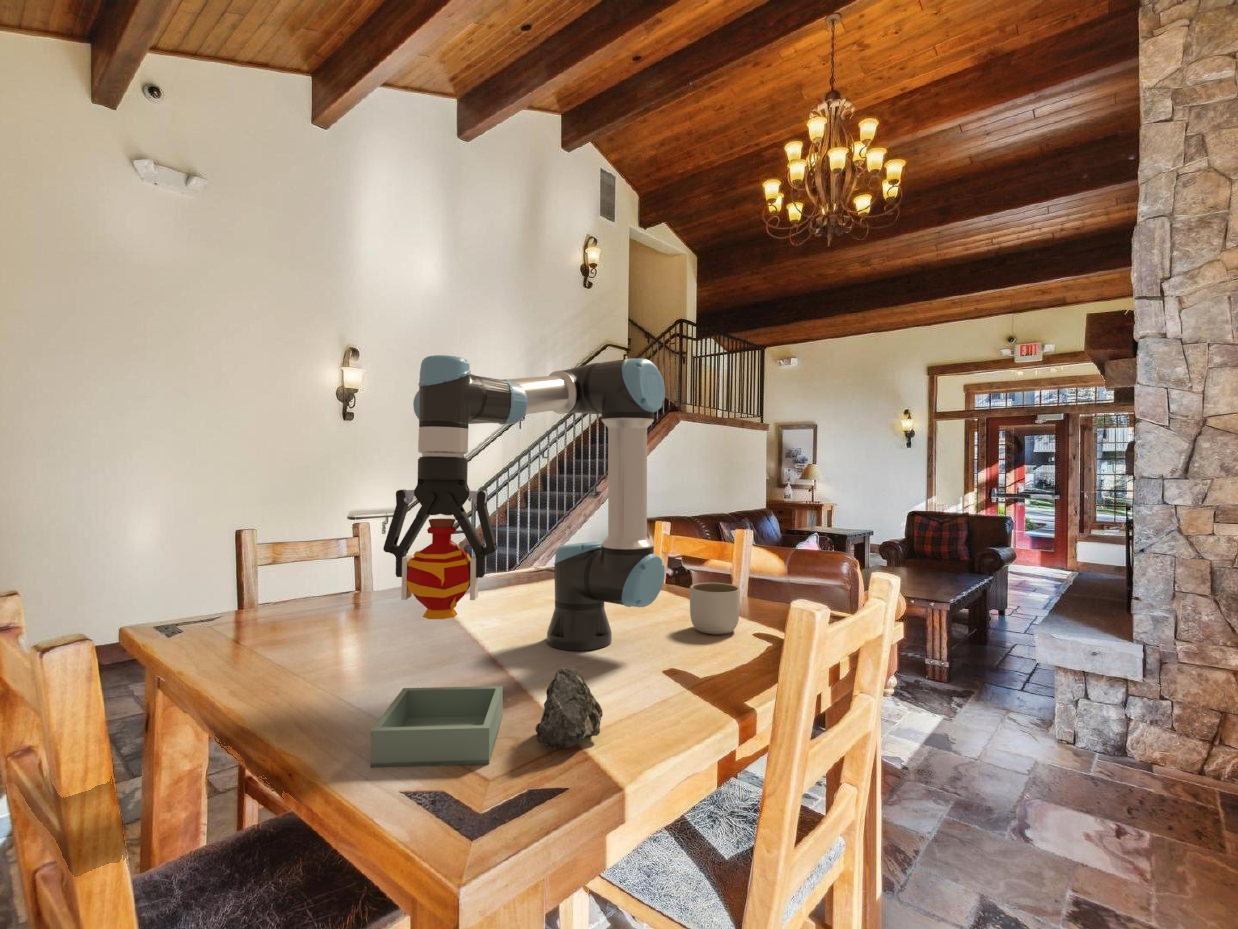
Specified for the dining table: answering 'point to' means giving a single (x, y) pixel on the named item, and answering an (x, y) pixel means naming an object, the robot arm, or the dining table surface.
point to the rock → (568, 711)
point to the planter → (714, 607)
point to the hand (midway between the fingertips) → (440, 598)
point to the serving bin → (438, 727)
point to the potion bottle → (439, 572)
